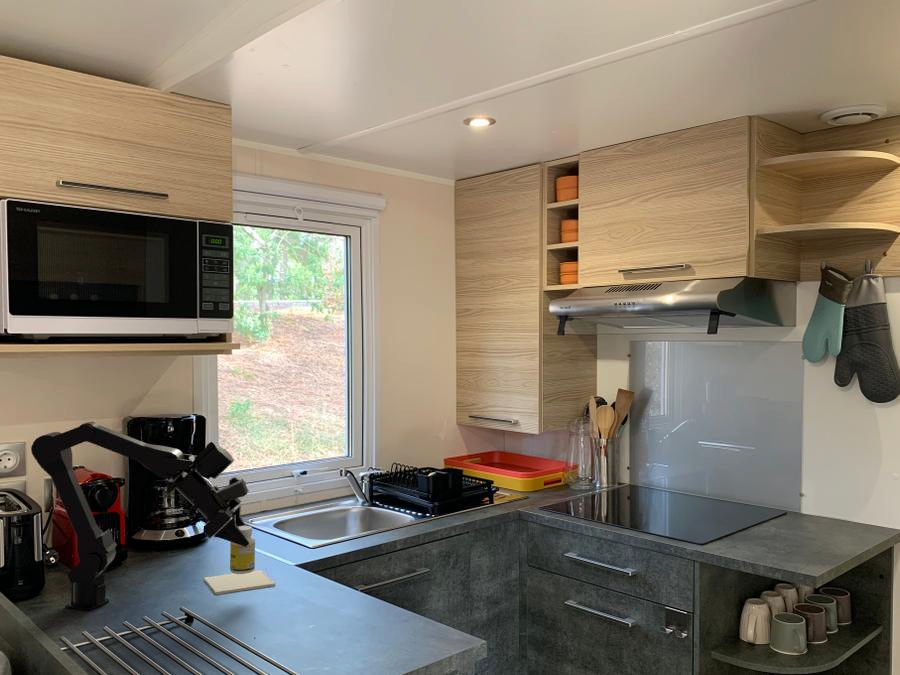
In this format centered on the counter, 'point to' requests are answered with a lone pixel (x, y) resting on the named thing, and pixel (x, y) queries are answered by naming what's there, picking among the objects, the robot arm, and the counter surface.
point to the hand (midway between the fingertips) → (249, 541)
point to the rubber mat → (238, 582)
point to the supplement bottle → (243, 553)
